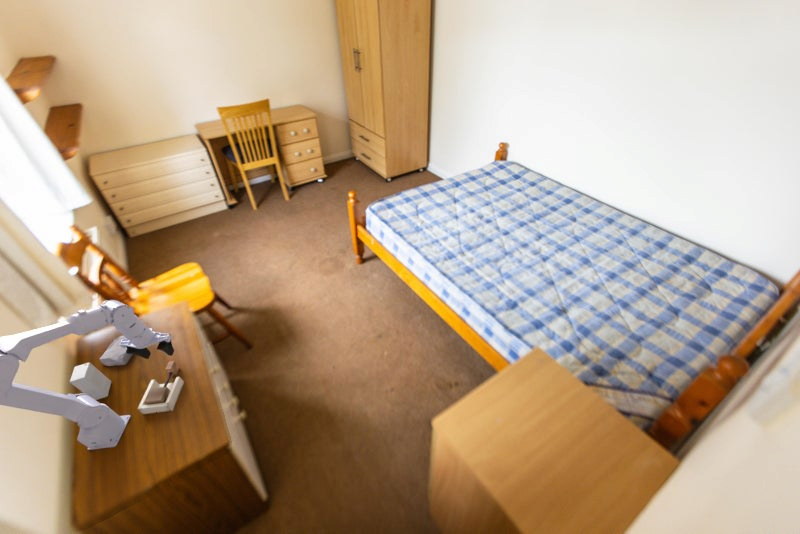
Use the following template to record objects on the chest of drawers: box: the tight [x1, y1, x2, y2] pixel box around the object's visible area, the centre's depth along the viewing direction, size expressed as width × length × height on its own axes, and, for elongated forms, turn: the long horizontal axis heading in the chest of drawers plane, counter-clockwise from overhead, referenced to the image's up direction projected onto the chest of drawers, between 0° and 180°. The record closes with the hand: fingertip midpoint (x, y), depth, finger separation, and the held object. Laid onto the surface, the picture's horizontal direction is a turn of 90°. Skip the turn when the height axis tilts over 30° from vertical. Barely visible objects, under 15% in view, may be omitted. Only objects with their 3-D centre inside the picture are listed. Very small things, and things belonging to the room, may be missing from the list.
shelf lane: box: [137, 376, 185, 415], centre depth 112 cm, size 10×9×4 cm
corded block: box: [144, 360, 180, 405], centre depth 114 cm, size 14×5×4 cm, turn 6°
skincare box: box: [69, 362, 112, 401], centre depth 112 cm, size 6×4×12 cm
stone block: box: [99, 334, 134, 367], centre depth 127 cm, size 12×5×10 cm
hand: (160, 354), depth 114 cm, fingers open, 7 cm apart
